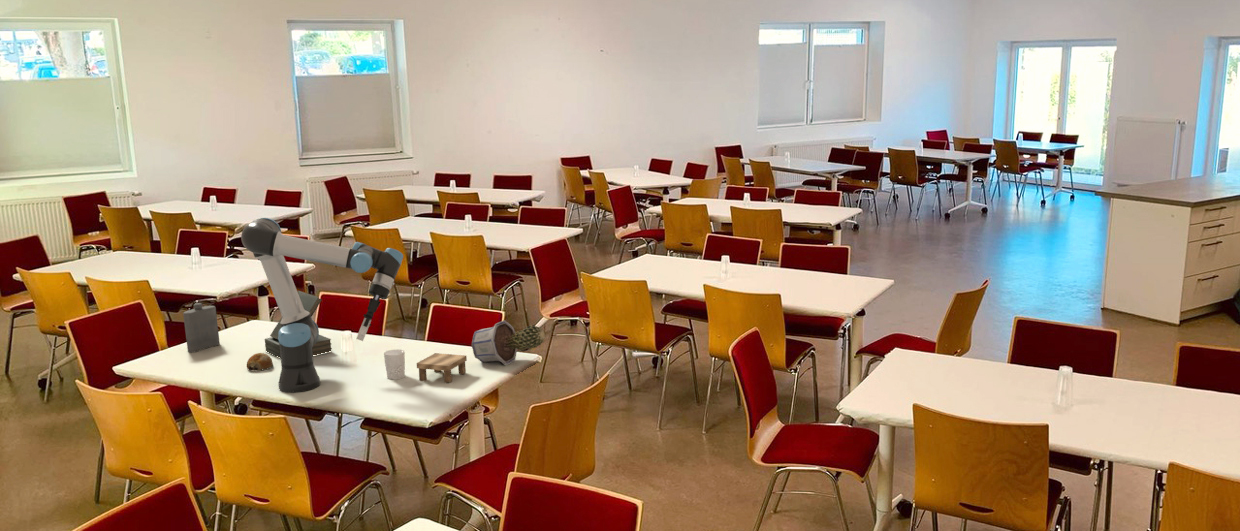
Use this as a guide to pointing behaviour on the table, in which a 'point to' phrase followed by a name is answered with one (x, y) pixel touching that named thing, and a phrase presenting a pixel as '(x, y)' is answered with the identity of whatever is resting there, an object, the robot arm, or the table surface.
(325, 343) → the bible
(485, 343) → the potted plant
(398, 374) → the white cup
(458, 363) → the stool
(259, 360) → the bread roll
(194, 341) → the flask
